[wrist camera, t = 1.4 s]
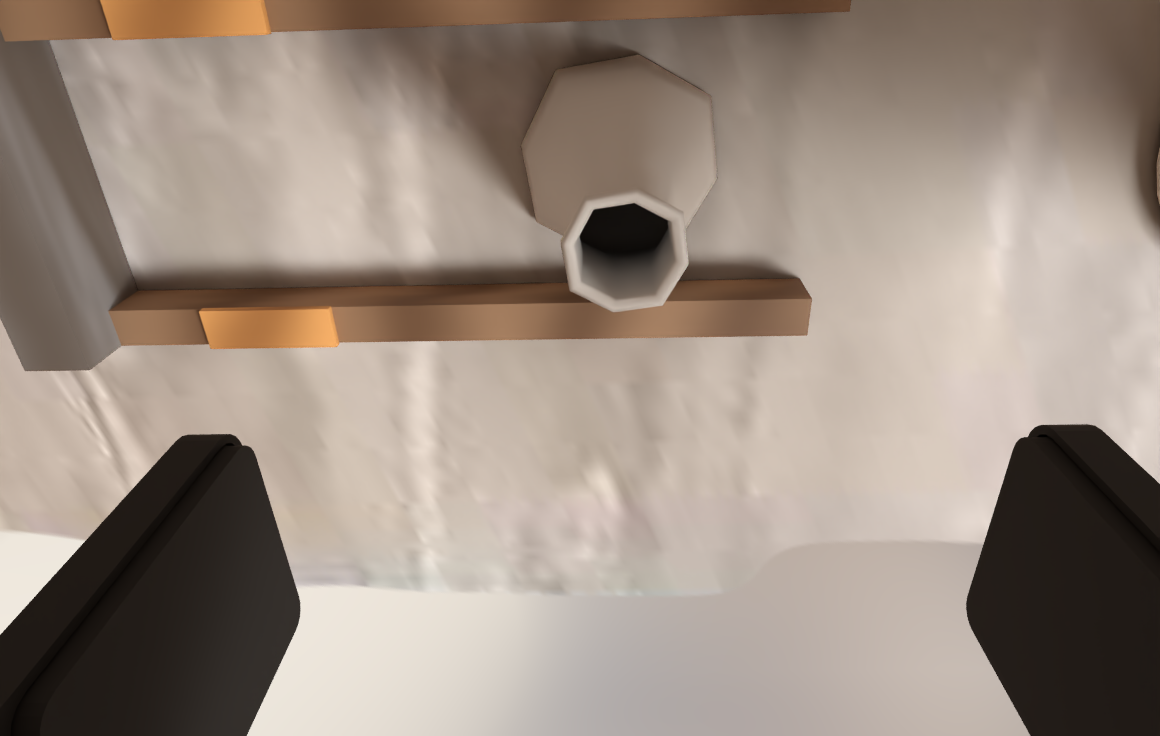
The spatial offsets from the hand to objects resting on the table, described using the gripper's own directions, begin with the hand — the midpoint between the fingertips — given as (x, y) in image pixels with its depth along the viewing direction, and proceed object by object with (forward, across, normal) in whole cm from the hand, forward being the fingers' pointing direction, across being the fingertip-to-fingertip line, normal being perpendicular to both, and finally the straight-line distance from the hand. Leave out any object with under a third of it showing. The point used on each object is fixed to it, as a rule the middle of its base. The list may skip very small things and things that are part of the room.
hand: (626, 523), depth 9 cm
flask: (+20, 0, 0) cm, 20 cm away
